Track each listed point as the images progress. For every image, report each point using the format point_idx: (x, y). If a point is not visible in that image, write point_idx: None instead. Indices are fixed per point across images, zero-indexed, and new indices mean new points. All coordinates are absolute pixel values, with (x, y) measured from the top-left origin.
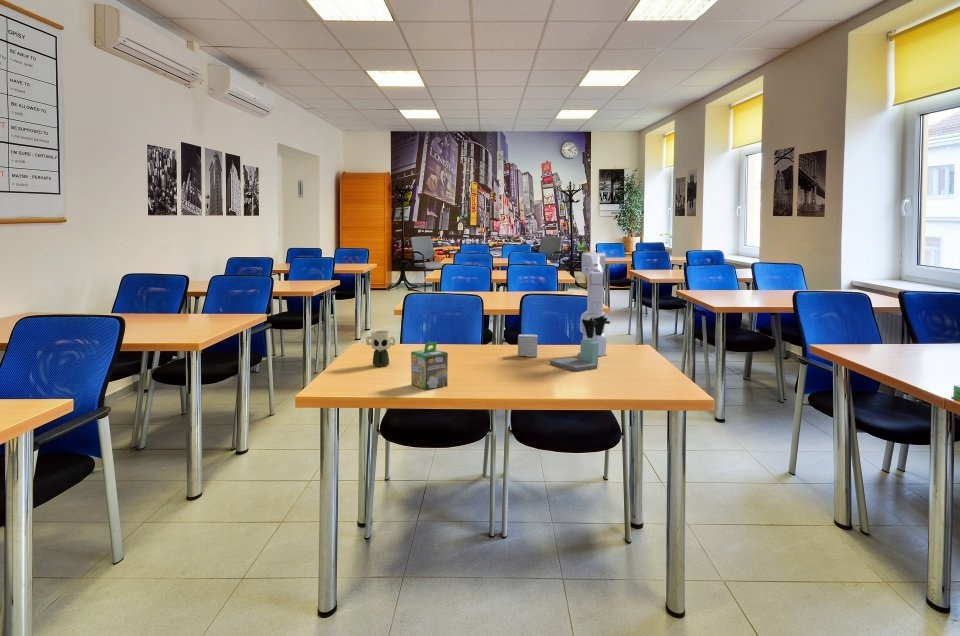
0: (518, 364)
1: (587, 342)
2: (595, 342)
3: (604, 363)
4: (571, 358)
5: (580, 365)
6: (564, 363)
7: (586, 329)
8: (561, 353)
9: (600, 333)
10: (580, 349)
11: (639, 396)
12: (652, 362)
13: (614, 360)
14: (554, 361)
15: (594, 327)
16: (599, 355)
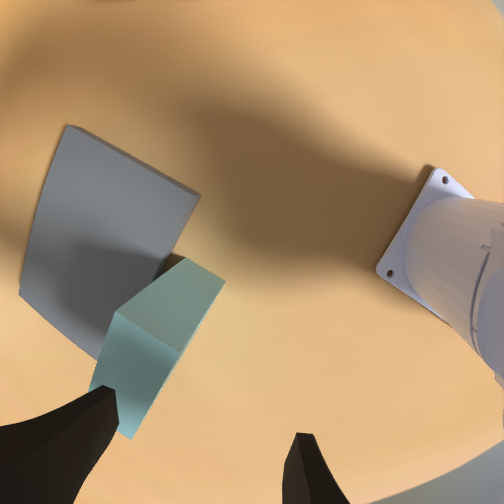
0: (37, 40)
1: (94, 371)
2: (121, 422)
3: (247, 376)
4: (162, 208)
5: (54, 305)
6: (44, 224)
7: (47, 425)
8: (398, 68)
9: (284, 479)
10: (152, 283)
11: None
12: (362, 490)
13: (348, 397)
14: (54, 160)
15: (72, 498)
16: (427, 308)
